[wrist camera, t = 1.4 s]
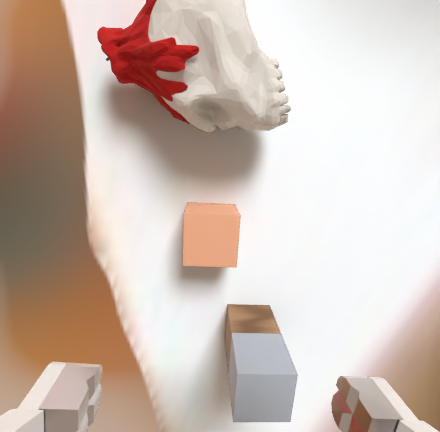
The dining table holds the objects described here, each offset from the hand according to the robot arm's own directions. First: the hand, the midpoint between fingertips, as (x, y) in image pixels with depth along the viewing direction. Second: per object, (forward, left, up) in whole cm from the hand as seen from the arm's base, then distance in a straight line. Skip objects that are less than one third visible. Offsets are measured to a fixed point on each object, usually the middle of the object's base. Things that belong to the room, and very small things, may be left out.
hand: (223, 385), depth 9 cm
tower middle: (-5, +12, -15) cm, 20 cm away
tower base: (-5, +12, -20) cm, 24 cm away
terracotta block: (0, 0, -21) cm, 21 cm away
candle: (+2, -15, -21) cm, 25 cm away
